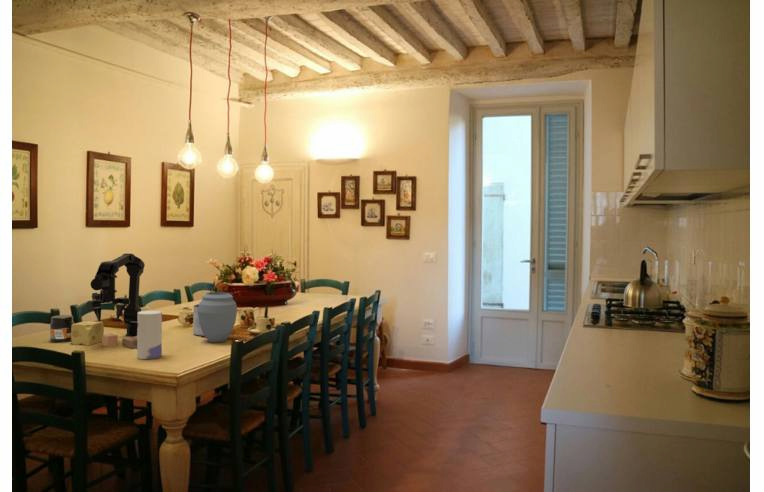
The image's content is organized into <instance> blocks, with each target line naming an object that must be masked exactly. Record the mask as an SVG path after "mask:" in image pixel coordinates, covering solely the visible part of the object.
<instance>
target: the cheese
mask: <svg viewBox="0 0 764 492" xmlns="http://www.w3.org/2000/svg"><path fill="white" fill-rule="evenodd" d="M104 332H105V327H104V322H103V321H100V322H99V321H88V320H87V321H86V320H85V321H80V322H76V323H74V324H72V326H71V341H70V342H71V345H83V346H91V345H95V344H99V343H102V335H105V334H104Z"/></svg>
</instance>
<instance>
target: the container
mask: <svg viewBox="0 0 764 492" xmlns="http://www.w3.org/2000/svg"><path fill="white" fill-rule="evenodd" d="M162 321H163V312H162V311H160V310H141V312H138V315H137V348H136V349H137V350H136V352H137V354H136V355H137V356H136V358H137V359H141V360H152V359H157V358H161V357H162V355H163V353H162V351H163V349H162V346H163V345H162V344H163V343H162V342H163V341H162V338H163V336H162V335H163V331H162V329H163V328H162V326H163V324H162V323H163V322H162Z"/></svg>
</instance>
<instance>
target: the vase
mask: <svg viewBox="0 0 764 492" xmlns="http://www.w3.org/2000/svg"><path fill="white" fill-rule="evenodd" d="M233 298H234V296H233V295H232V294H230V292H228V291H227V292H225V291H213V292H212V291H211V292H207V293H204V294H203V296H202V298H201V301H200V302H199V303H198V304H199V306H198V310H197V311H198V318H199V323H200V326H201V329H202V332H203V334H204V335H205V336H204V337H205V339H207V341H209V342H210V343H223V341H224V342H225V341H227V340H228V339H229V337H230V335H231V333H232V332H233V329H234V327H235V324H236V320H237V314H238V306H237V302H236V301H235V300H234V299H233Z"/></svg>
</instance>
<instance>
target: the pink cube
mask: <svg viewBox="0 0 764 492" xmlns="http://www.w3.org/2000/svg"><path fill="white" fill-rule="evenodd" d="M118 337H119V335H118V334H114V333H107V334H103V335H102V342H101V346H103V347H108V348H109V347H114V346H118V342H119V341H118V340H119V338H118Z"/></svg>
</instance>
